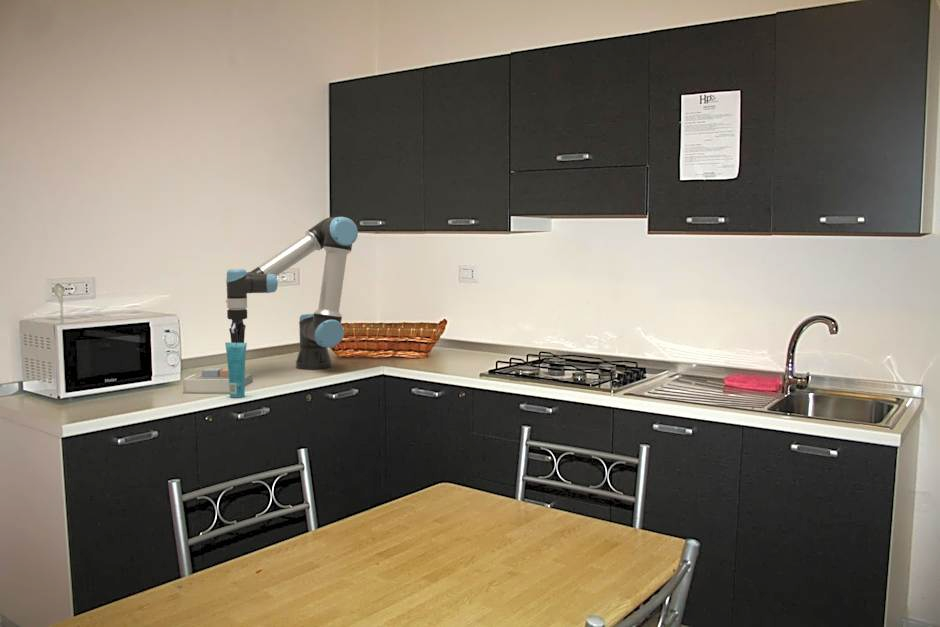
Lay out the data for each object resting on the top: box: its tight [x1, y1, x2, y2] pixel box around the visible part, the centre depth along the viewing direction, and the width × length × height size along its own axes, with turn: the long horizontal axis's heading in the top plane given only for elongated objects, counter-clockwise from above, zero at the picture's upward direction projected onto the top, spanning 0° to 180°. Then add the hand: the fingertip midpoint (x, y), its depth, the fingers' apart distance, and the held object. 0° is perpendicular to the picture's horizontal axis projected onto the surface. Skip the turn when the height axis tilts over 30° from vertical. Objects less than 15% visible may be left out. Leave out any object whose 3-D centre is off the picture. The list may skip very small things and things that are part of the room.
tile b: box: [201, 367, 224, 377], centre depth 310 cm, size 6×6×2 cm
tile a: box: [220, 367, 229, 377], centre depth 310 cm, size 6×6×2 cm
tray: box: [182, 373, 230, 395], centre depth 297 cm, size 18×11×5 cm, turn 89°
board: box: [196, 373, 253, 387], centre depth 308 cm, size 18×13×3 cm
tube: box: [225, 342, 248, 398], centre depth 285 cm, size 7×5×19 cm, turn 96°
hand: (238, 368), depth 320 cm, fingers closed
